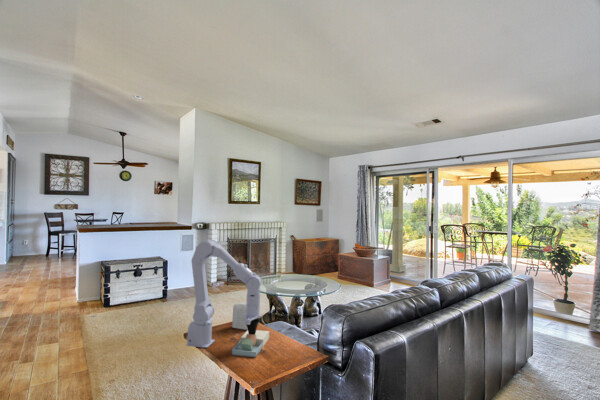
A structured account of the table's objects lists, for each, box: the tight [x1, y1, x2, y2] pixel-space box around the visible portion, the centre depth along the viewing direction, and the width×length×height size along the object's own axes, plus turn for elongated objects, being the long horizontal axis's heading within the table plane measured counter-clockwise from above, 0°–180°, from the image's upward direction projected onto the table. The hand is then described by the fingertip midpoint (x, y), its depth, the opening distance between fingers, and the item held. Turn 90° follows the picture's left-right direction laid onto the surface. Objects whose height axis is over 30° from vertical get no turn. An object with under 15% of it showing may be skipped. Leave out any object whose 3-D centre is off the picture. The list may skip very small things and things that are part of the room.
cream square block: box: [240, 329, 270, 347], centre depth 139 cm, size 10×10×3 cm
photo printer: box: [231, 301, 248, 331], centre depth 155 cm, size 10×4×12 cm, turn 75°
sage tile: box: [241, 339, 253, 351], centre depth 128 cm, size 4×4×2 cm
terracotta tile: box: [245, 334, 257, 347], centre depth 132 cm, size 4×4×2 cm
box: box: [231, 339, 264, 358], centre depth 129 cm, size 10×10×2 cm
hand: (251, 336), depth 134 cm, fingers closed
